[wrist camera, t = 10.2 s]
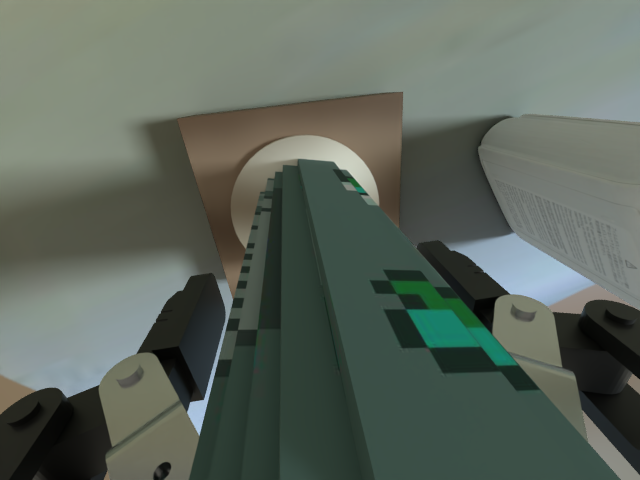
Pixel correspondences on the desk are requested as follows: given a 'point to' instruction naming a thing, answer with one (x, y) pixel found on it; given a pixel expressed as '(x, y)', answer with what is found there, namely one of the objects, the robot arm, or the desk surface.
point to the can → (366, 359)
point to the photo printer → (572, 192)
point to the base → (289, 157)
